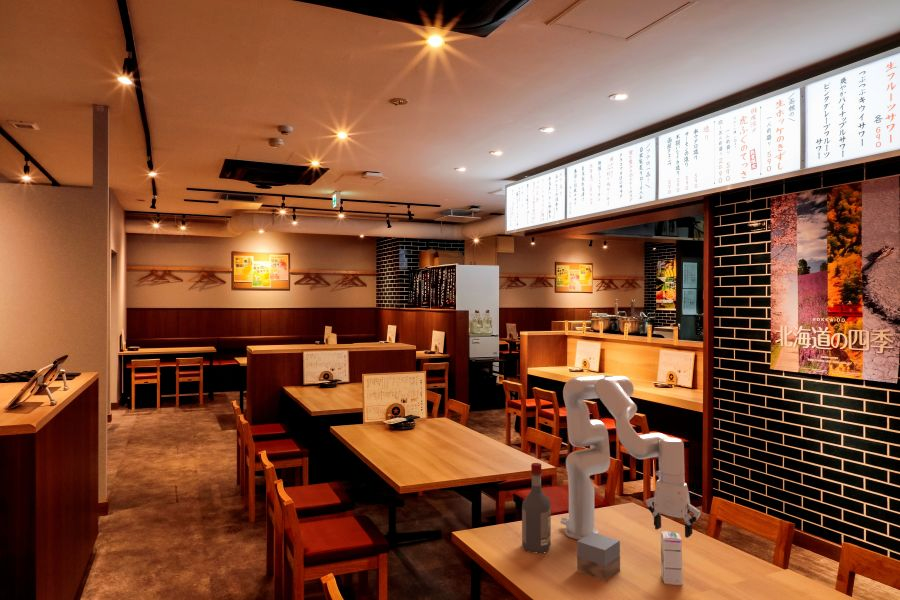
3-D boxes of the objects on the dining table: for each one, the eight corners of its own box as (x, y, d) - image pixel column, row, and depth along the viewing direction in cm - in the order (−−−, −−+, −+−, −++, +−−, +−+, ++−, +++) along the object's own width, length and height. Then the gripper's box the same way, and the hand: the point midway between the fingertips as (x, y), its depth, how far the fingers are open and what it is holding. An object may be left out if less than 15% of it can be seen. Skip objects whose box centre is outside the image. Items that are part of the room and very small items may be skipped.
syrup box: (683, 585, 180) (683, 539, 180) (663, 583, 181) (663, 537, 181) (679, 577, 186) (679, 531, 186) (660, 575, 187) (660, 530, 187)
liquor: (520, 550, 205) (520, 466, 205) (527, 541, 214) (527, 459, 214) (546, 555, 202) (546, 469, 202) (551, 545, 210) (551, 462, 210)
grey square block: (577, 556, 190) (577, 541, 190) (592, 547, 197) (592, 532, 197) (604, 565, 183) (604, 550, 183) (619, 555, 191) (619, 540, 191)
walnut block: (577, 571, 190) (577, 556, 190) (593, 561, 198) (593, 546, 198) (604, 581, 183) (604, 565, 183) (620, 571, 191) (620, 555, 191)
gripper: (640, 475, 187) (641, 528, 187) (694, 485, 175) (695, 543, 174) (650, 470, 192) (651, 522, 192) (704, 480, 180) (705, 536, 180)
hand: (672, 532), depth 183 cm, fingers open, 9 cm apart
